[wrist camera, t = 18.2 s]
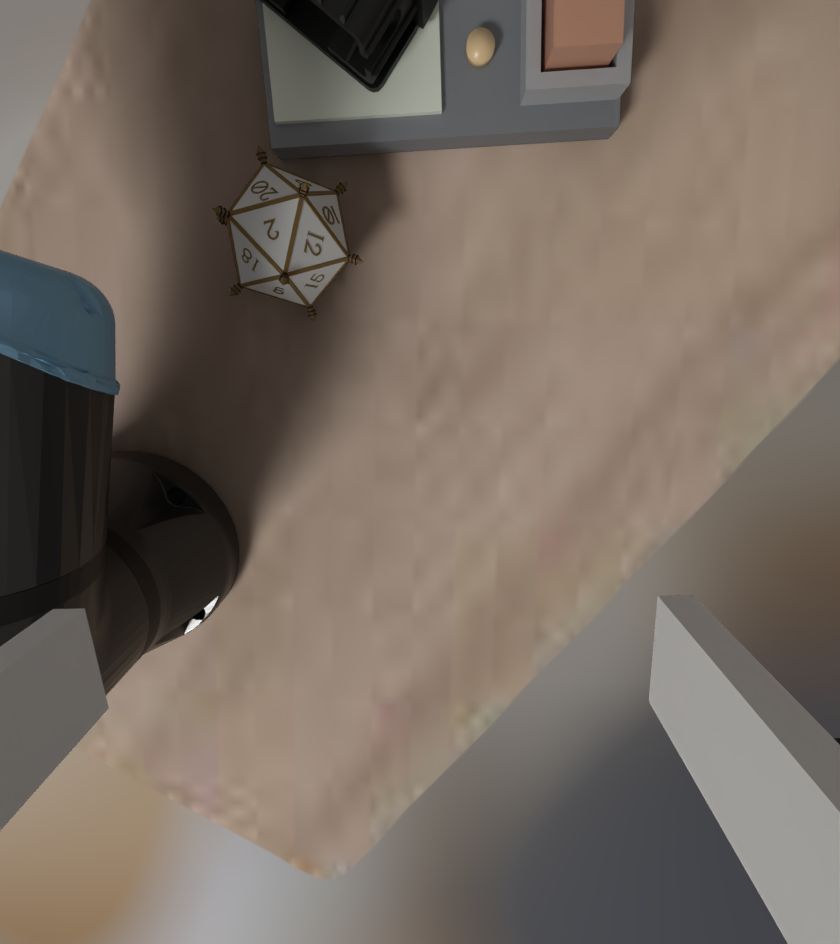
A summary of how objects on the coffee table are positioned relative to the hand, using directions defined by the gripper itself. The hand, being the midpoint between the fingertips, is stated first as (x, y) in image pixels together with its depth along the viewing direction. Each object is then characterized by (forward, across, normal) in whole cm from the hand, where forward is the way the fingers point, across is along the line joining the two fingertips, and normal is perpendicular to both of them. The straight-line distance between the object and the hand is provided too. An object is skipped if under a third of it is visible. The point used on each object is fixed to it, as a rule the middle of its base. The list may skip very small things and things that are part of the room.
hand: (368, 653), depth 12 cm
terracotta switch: (+24, -10, -23) cm, 35 cm away
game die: (+27, +7, -13) cm, 31 cm away
